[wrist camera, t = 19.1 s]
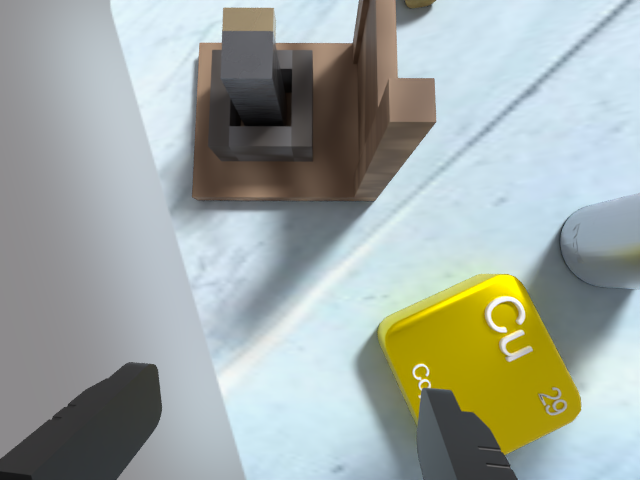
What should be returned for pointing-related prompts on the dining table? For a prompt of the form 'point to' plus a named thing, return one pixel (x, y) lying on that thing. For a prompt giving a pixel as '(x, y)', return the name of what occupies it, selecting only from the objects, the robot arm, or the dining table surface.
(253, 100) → the tan-topped grey pillar
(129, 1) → the dining table surface
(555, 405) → the element tile
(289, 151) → the wooden peg insertion stand
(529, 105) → the dining table surface
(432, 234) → the dining table surface
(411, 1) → the gavel
